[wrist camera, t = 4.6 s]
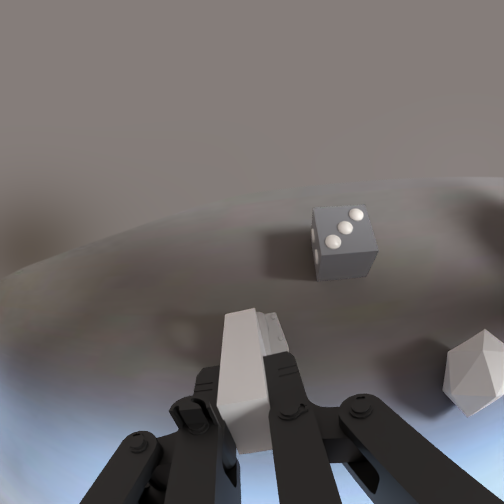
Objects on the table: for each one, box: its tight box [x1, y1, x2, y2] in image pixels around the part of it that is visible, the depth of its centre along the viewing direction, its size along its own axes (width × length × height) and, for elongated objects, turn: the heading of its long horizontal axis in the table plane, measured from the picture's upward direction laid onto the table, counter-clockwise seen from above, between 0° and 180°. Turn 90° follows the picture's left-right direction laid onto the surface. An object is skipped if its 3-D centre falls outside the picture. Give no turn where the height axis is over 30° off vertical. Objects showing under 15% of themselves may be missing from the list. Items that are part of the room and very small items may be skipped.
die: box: [442, 329, 504, 418], centre depth 19 cm, size 8×9×10 cm
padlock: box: [256, 312, 289, 356], centre depth 24 cm, size 7×4×10 cm, turn 8°
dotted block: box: [311, 205, 379, 281], centre depth 31 cm, size 6×6×6 cm
